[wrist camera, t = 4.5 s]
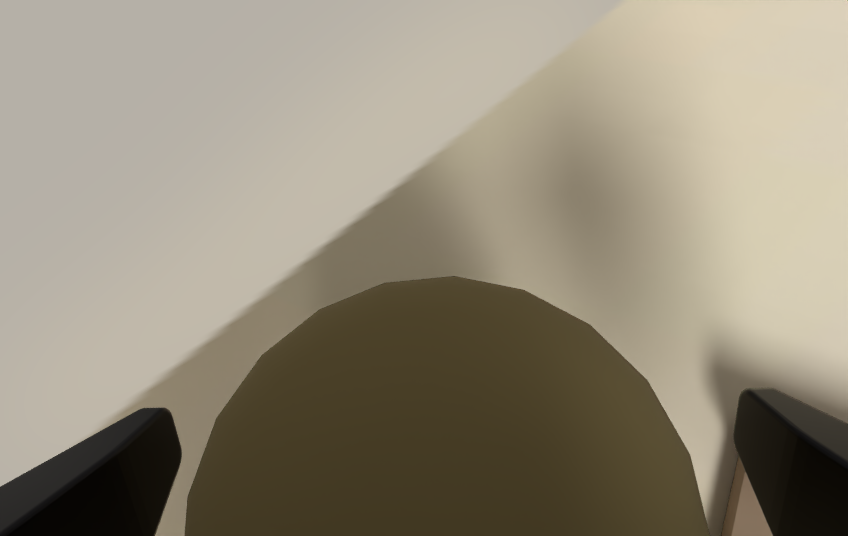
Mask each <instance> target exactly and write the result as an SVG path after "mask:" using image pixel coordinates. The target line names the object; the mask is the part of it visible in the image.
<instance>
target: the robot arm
mask: <svg viewBox="0 0 848 536" xmlns="http://www.w3.org/2000/svg"><path fill="white" fill-rule="evenodd" d="M733 436H734V444H735V448H736V451H737V453H738V455H739V458H740V460H741V463H742V465H743V467H744V470H745V472H746V474H747V477H748V479H749V481H750V484H751V486H752V489H753V491H754V493H755V496H756V498H757V500H758V503H759V505H760V507H761V510H762V512H763V515H764V517H765V519H766V522H767V524H768V526H769V528H770V531H771V533H772V535H773V536H848V424H847V423H845V422H843V421H841V420H839V419H837V418H835V417H833V416H830V415H828V414H826V413H824V412H822V411H820V410H818V409H816V408H814V407H811V406H809V405H807V404H805V403H803V402H801V401H799V400H797V399H795V398H792V397H790V396H788V395H786V394H784V393H782V392H780V391H778V390H776V389H773V388H749V389H745V390H743V391H742V392H741V394H740V397H739V402H738V408H737V414H736V420H735V426H734V434H733ZM181 457H182V451H181V445H180V442H179V438H178V434H177V431H176V427H175V424H174V420H173V417H172V414H171V412H170V411H169V410H168V409H166V408H143V409H140V410H138V411H136V412H134V413H132V414H131V415H129V416H127V417H125V418H123V419H122V420H120V421H118V422H116V423H114V424H112V425H111V426H109V427H107V428H105V429H103V430H102V431H100V432H98V433H96V434H94V435H93V436H91V437H89V438H87V439H85V440H84V441H82V442H80V443H78V444H76V445H75V446H73V447H71V448H69V449H67V450H66V451H64V452H62V453H60V454H58V455H57V456H55V457H53V458H52V459H50V460H48V461H46V462H44V463H42V464H41V465H39V466H37V467H35V468H33V469H31V470H30V471H28V472H26V473H24V474H23V475H21V476H19V477H17V478H15V479H14V480H12V481H10V482H8V483H6V484H4V485H3V486H1V487H0V536H155V534H156V531H157V528H158V525H159V522H160V520H161V517H162V514H163V511H164V508H165V506H166V503H167V500H168V497H169V494H170V491H171V489H172V486H173V483H174V480H175V477H176V475H177V472H178V469H179V466H180V463H181Z"/></svg>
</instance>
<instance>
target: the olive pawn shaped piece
mask: <svg viewBox="0 0 848 536" xmlns="http://www.w3.org/2000/svg"><path fill="white" fill-rule="evenodd" d="M185 536H710V535H709V531H708V527H707V523H706V518H705V514H704V510H703V506H702V502H701V498H700V494H699V490H698V485H697V481H696V477H695V473H694V469H693V465H692V461H691V457H690V454H689V452H688V450H687V449H686V447H685V445H684V443H683V442H682V440H681V438H680V436H679V435H678V433H677V431H676V429H675V428H674V426H673V424H672V422H671V421H670V419H669V417H668V415H667V414H666V412H665V410H664V409H663V407H662V405H661V403H660V402H659V400H658V398H657V396H656V395H655V393H654V391H653V389H652V388H651V386H650V384H649V382H648V381H647V379H645V378H644V377H643V376H642V375H641V374H640V373H639V372H638V371H637V370H636V369H635V368H634V367H633V366H632V365H631V364H630V363H629V362H628V361H627V360H626V359H625V358H624V357H623V356H622V355H621V354H620V353H619V352H618V351H617V350H616V349H614V348H613V347H612V346H611V345H610V344H609V343H608V342H607V341H606V340H605V339H604V338H603V337H602V336H601V335H600V334H599V333H598V332H597V331H596V330H595V329H594V328H593V327H592V326H591V325H589V324H588V323H586V322H584V321H582V320H580V319H578V318H576V317H574V316H572V315H570V314H569V313H567V312H565V311H563V310H561V309H559V308H557V307H555V306H553V305H551V304H550V303H548V302H546V301H544V300H542V299H540V298H538V297H536V296H534V295H532V294H531V293H529V292H527V291H525V290H521V289H516V288H511V287H506V286H501V285H496V284H491V283H486V282H481V281H476V280H470V279H465V278H460V277H455V276H452V277H442V278H431V279H421V280H411V281H401V282H390V283H384V284H381V285H379V286H376V287H374V288H371V289H369V290H366V291H364V292H362V293H359V294H357V295H354V296H352V297H349V298H347V299H344V300H342V301H339V302H337V303H335V304H332V305H330V306H327V307H325V308H322V309H320V310H318V311H317V312H316V313H315V314H313V315H312V316H311V317H310V318H308V319H307V320H306V321H304V322H303V323H302V324H301V325H299V326H298V327H297V328H296V329H294V330H293V331H292V332H291V333H289V334H288V335H287V336H286V337H284V338H283V339H282V340H281V341H279V342H278V343H277V344H276V345H274V346H273V347H272V348H270V349H269V350H268V351H267V352H265V353H264V354H263V355H262V356H261V357H260V359H259V360H258V361H257V363H256V364H255V366H254V367H253V368H252V370H251V371H250V373H249V374H248V375H247V377H246V378H245V379H244V381H243V382H242V384H241V385H240V386H239V388H238V389H237V391H236V392H235V393H234V395H233V396H232V398H231V399H230V400H229V402H228V403H227V405H226V406H225V407H224V409H223V410H222V411H221V413H220V414H219V416H218V417H217V418H216V421H215V424H214V427H213V429H212V432H211V435H210V437H209V440H208V443H207V446H206V448H205V451H204V454H203V456H202V459H201V462H200V465H199V467H198V470H197V473H196V476H195V478H194V481H193V484H192V486H191V489H190V492H189V495H188V500H187V512H186V525H185Z"/></svg>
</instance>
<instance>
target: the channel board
mask: <svg viewBox="0 0 848 536" xmlns="http://www.w3.org/2000/svg"><path fill="white" fill-rule="evenodd" d="M721 536H773V535H772V533H771V531H770V528H769V526H768V524H767V522H766V519H765V517H764V515H763V512H762V510H761V507H760V505H759V503H758V500H757V498H756V496H755V493H754V491H753V489H752V486H751V484H750V481H749V479H748V477H747V474H746V472H745V470H744V467H743V465H742V463H741V460H740V458H739V456H738V460H737V465H736V470H735V474H734V479H733V484H732V488H731V493H730V497H729V502H728V507H727V511H726V516H725V520H724V525H723V530H722V534H721Z"/></svg>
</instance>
